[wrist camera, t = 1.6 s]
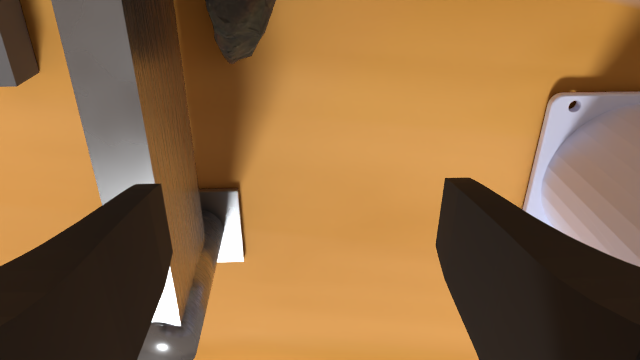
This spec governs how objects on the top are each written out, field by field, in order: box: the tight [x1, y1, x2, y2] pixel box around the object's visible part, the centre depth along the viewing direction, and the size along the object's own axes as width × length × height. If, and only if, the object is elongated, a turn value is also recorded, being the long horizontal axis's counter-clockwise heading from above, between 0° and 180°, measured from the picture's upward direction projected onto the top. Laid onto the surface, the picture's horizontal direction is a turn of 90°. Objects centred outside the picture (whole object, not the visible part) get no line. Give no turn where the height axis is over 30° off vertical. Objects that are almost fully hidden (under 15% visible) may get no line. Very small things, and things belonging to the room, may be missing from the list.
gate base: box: [199, 188, 244, 262], centre depth 23 cm, size 4×4×1 cm
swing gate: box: [51, 0, 224, 360], centre depth 15 cm, size 21×2×7 cm, turn 0°
